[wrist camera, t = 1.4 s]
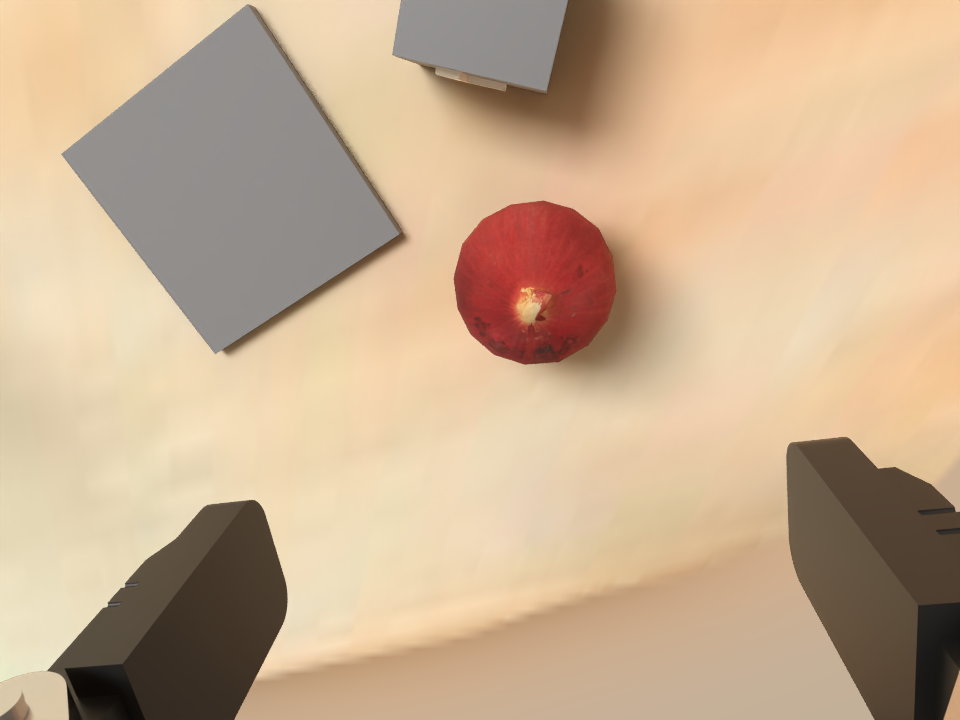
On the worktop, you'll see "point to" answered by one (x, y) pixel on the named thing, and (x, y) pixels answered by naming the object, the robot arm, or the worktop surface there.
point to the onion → (535, 282)
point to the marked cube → (483, 40)
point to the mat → (232, 183)
